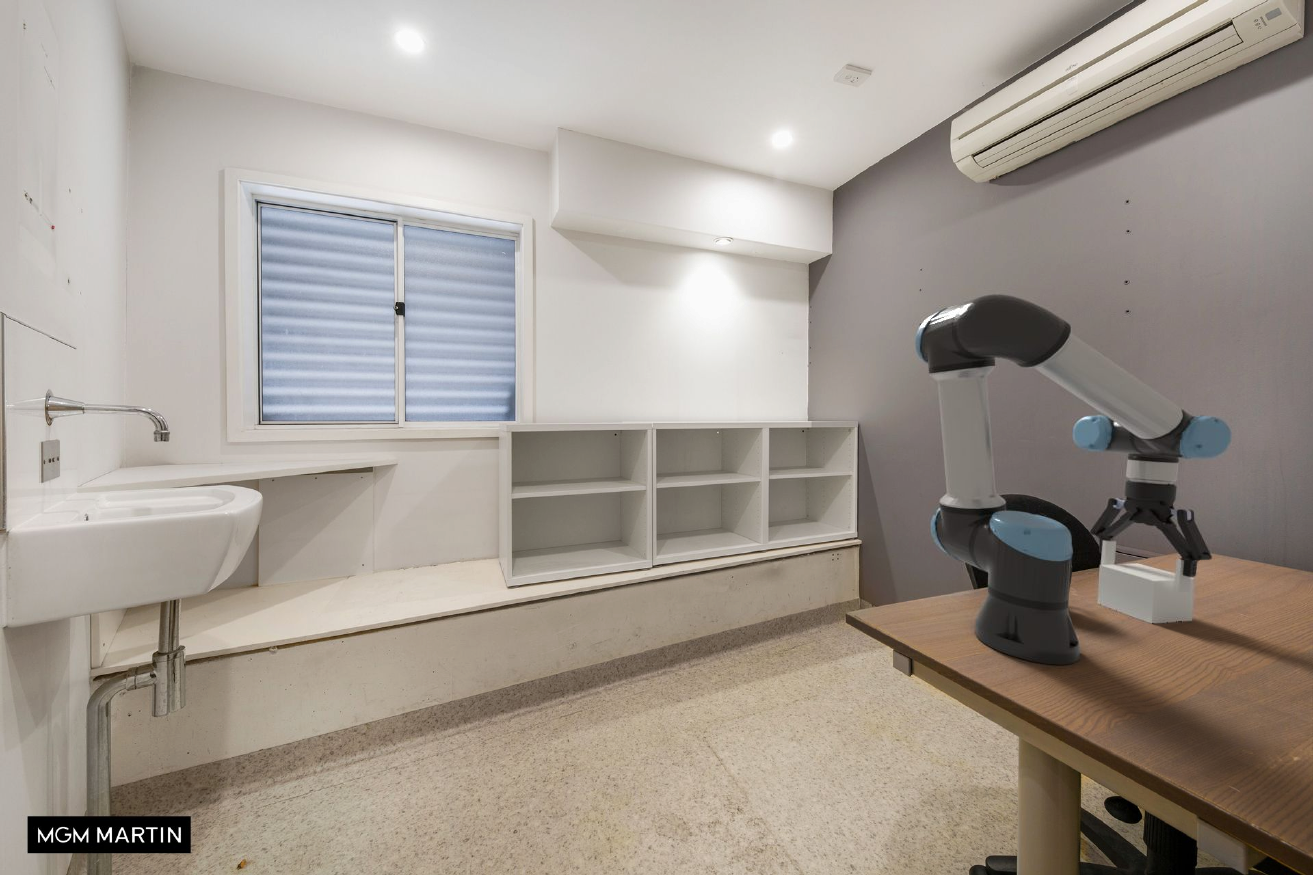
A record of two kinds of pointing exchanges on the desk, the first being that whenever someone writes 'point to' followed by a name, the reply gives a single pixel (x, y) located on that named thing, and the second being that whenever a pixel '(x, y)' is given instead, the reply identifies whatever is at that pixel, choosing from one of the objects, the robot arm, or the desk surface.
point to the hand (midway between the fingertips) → (1141, 579)
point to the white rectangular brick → (1144, 593)
